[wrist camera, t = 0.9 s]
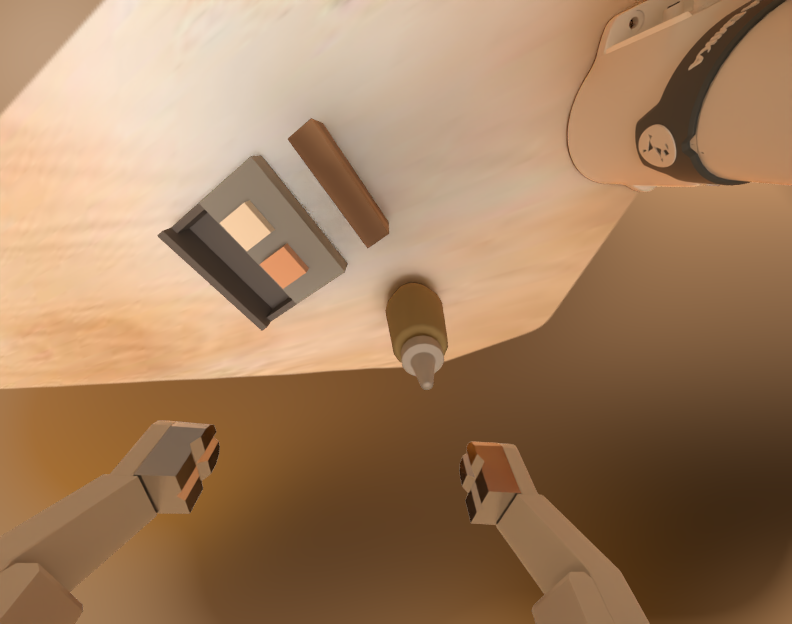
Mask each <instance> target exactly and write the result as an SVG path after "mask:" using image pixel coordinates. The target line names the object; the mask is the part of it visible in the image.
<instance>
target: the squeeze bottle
mask: <svg viewBox="0 0 792 624" xmlns="http://www.w3.org/2000/svg"><path fill="white" fill-rule="evenodd" d="M386 316H387V321H388V326H389V332H390V337H391V342H392V347H393V352H394V355H395V356H396V357H397V359H398V360H399V361H400V362H402V366H403V368H404V369H405V370H406V371H407V372H408V373H410V374H412V375H414V376H416V377H417V379H418V381H419V383H420V385H421V387H422V388H423V389H425V390H428V389H431V388H432V386H433V380H434V373H435V372H437V371H438V370H439V369H440V368H441V366H442V364H443V362H444V355H445V352H446V350H447V348H448V341H447V333H446V326H445V320H444V313H443V306H442V302H441V300H440V299H439V297H438V295H437V294H436V293H434V292H433V291H432V290H430V289H429V288H427V287H425V286H424V285H422V284H418V283H407V284H405V285H403V286H401V287H399V288H398V290H397V291H396V292H395V293H394V295H393V296H392V297H391V298H390V299H389V301H388V304H387V307H386Z"/></svg>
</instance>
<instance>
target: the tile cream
mask: <svg viewBox="0 0 792 624" xmlns="http://www.w3.org/2000/svg"><path fill="white" fill-rule="evenodd" d="M220 224H221V225H222V226H223V227H224V228H225V230H226V231H227V232H228V233H229V234H230V235H231V236H232V237H233V238H234V239H235V240H236V241H237V242H238V243H239V244H240V245H241V246H242V247H243V248H244V249H245V250H246V251H248V250H249V249H251V248H252V247H253V246H255V245H256V244H257V243H259V242H260V241H261V240H262V239H264V238H265V237H266V236H268V235H269V234H270V233H271V232H273V231H274V230H275V229H274V228H273V227H272V225H271V224H270V223H269V222H268V221H267V220H266V219H265V217H264V216H263V215H262V214H261V213H260V212H259V211H258V209H257V208H256V207H255V206H254V205H253V204H252V203H251V201H250V200H249V201H247V202H244V203H243V204H242V205H240V206H239V207H238V208H237V209H236V210H235V211H233V212H232V213H231V214H230V215H229V216H227V217H226V218H225V219H224V220H223V221H221V222H220Z"/></svg>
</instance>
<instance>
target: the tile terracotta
mask: <svg viewBox="0 0 792 624" xmlns="http://www.w3.org/2000/svg"><path fill="white" fill-rule="evenodd" d="M260 266H261V267H262V268H263V269H264V270H265V271H266V272H267V273H268V274H269V275H270V276H271V277H272V278H273V279H274V280H275V281H276V282H277V283H278V284H279V285H280V286H281V287H282V288H283V289H284V288H285V287H287V286H288V285H289V284H291V283H292V282H294V281H295V280H297V279H298V278H299V277H301V276H302V275H304V274H305V273H306V272H307V271H308V269H309V268H308V266H307V265H306V264H305V263H304V262H303V261H302V260H301V258H300V257H299V256H298V255H297V254H296V253H295V252H294V250H293V249H292V248H291V247H290V246H289V245H288V244H285V245H284V246H283V247H281V248H280V249H279V250H277V251H276V252H275V253H273V254H272V255H271V256H269V257H268V258H267V259H265V260H264V261H263V262H262V263H261V264H260Z"/></svg>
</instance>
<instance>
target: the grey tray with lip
mask: <svg viewBox="0 0 792 624" xmlns="http://www.w3.org/2000/svg"><path fill="white" fill-rule="evenodd" d="M249 200H250V201H251V203H252V204H253V205H254V206H255V207H256V208H257V209H258V211H259V212H260V213H261V214H262V215H263V216H264V217H265V219H266V220H267V221H268V222H269V223H270V224H271V225H272V227H273V228H274V229H275V230H274V231H273V232H271V233H270V234H269V235H268V236H266V237H265V238H264V239H262V240H261V241H260V242H259V243H257V244H256V245H255V246H253V247H252V248H251V249H249V250H248V251H246V250H245V249H244V248H243V247H242V246H241V245H240V244H239V243H238V242H237V241H236V240H235V239H234V238H233V237H232V236H231V235H230V234H229V233H228V232H227V231H226V230H225V228H224V227H223V226H222V225H221V224H220V222H221V221H223V220H224V219H225V218H226V217H227V216H229V215H230V214H231V213H232V212H233V211H235V210H236V209H237V208H238V207H239V206H240V205H242V204H243V203H244V202H247V201H249ZM158 237H159V238H160V239H161V240H162V241H163V242H165V243H166V244H167V245H168V246H169V247H170V248H171V249H172V250H173V251H174V252H176V253H177V254H178V255H179V256H180V257H181V258H182V259H183V260H184V261H186V262H187V263H188V264H189V265H190V266H191V267H192V268H193V269H194V270H195V271H197V272H198V273H199V274H200V275H201V276H202V277H203V278H204V279H205V280H206V281H208V282H209V283H210V284H211V285H212V286H213V287H214V288H215V289H216V290H218V291H219V292H220V293H221V294H222V295H223V296H224V297H225V298H226V299H227V300H229V301H230V302H231V303H232V304H233V305H234V306H235V307H236V308H237V309H238V310H240V311H241V312H242V313H243V314H244V315H245V316H246V317H247V318H248V319H250V320H251V321H252V322H253V323H254V324H255V325H256V326H257V327H258V328H259V329H261V330H264V329H265V328H267V326H268V325H269V323H270V322H271V321H272V320H274V319H275V318H277V317H278V316H280V315H281V314H283V313H284V312H286V311H287V310H289V309H290V308H292V307H293V306H295V305H296V304H298V303H299V302H301V301H302V300H304V299H305V298H307V297H308V296H310V295H311V294H313V293H314V292H316V291H317V290H319V289H320V288H322V287H323V286H325V285H326V284H328V283H329V282H331V281H332V280H334V279H335V278H336V277H338V276H339V275H341V274H342V273H344V272H345V270H346V267H347V263H346V261H345V260H344V259H343V258H342V256H341V255H340V254H339V253H338V251H337V250H336V249H335V248H334V246H333V245H332V244H331V242H330V241H329V240H328V239H327V237H326V236H325V235H324V234H323V232H322V231H321V230H320V229H319V227H318V226H317V225H316V224H315V222H314V221H313V220H312V219H311V217H310V216H309V215H308V214H307V212H306V211H305V210H304V209H303V207H302V206H301V205H300V204H299V202H298V201H297V200H296V199H295V197H294V196H293V195H292V194H291V192H290V191H289V190H288V188H287V187H286V186H285V185H284V183H283V182H282V181H281V180H280V178H279V177H278V176H277V175H276V173H275V172H274V171H273V170H272V168H271V167H270V166H269V165H268V163H267V162H266V161H265V160H264V158H263V157H262V156H251V157H250V158H248V159H247V160H246V161H245V162H244V163H243V164H242V165H241V166H240V167H238V168H237V169H236V170H235V171H234V172H233V173H232V174H231V175H229V176H228V177H227V178H226V179H225V180H224V181H223V182H222V183H221V184H219V185H218V186H217V187H216V188H215V189H214V190H213V191H212V192H211V193H209V194H208V195H207V196H206V197H205V198H204V199H203V200H202V201H200V202H199V203H198V204H197V205H196V206H195V207H194V208H193V209H192V210H190V211H189V212H188V213H187V214H186V215H185V216H184V217H183V218H181V219H180V220H179V221H178V222H177V223H176V224H175V225H174V226H173V227H171V228H169V229H166V230H164V231H162V232H161V233H160V234H159V235H158ZM285 244H288V245H289V246H290V247H291V248H292V249H293V250H294V252H295V253H296V254H297V255H298V256H299V257H300V258H301V260H302V261H303V262H304V263H305V264H306V265H307V266H308V268H309V269H308V271H307V272H306V273H305V274H304V275H302V276H301V277H299V278H298V279H297V280H295V281H294V282H292V283H291V284H289V285H288V286H287V287H285V288H284V289H283V288H282V287H281V286H280V285H279V284H278V283H277V282H276V281H275V280H274V279H273V278H272V277H271V276H270V275H269V274H268V273H267V272H266V271H265V270H264V269H263V268H262V267H261V266H260V264H261V263H262V262H263V261H264V260H265V259H267V258H268V257H269V256H271V255H272V254H273V253H275V252H276V251H277V250H279V249H280V248H281V247H283V246H284V245H285Z"/></svg>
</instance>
